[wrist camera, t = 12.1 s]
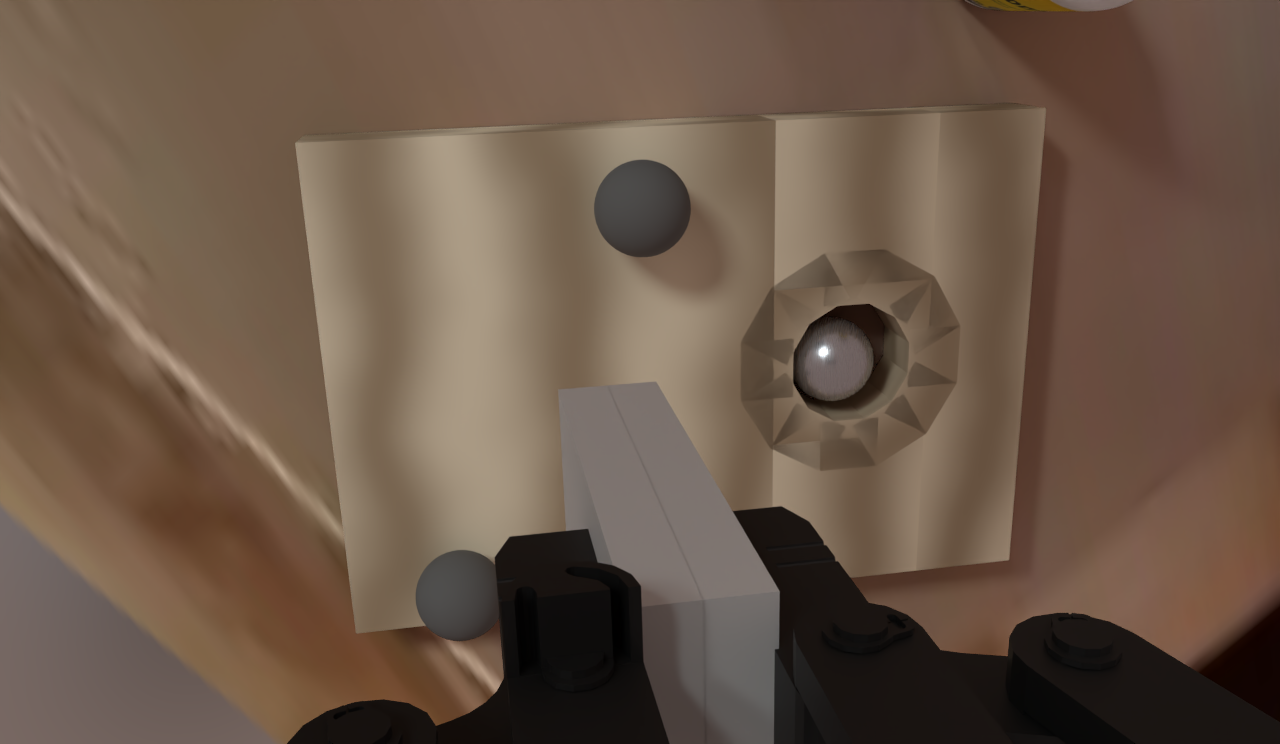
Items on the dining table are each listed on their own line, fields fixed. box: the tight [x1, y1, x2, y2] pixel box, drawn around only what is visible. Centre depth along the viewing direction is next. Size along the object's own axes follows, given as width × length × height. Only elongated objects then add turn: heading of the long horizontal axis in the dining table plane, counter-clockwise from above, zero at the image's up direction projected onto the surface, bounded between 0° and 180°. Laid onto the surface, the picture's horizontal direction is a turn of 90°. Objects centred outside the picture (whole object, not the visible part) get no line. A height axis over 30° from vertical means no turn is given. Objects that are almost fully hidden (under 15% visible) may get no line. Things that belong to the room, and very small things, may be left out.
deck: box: [295, 103, 1046, 633], centre depth 41 cm, size 26×18×2 cm
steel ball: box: [793, 317, 874, 401], centre depth 42 cm, size 3×3×3 cm
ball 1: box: [415, 550, 499, 641], centre depth 40 cm, size 3×3×3 cm
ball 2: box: [594, 160, 691, 257], centre depth 36 cm, size 3×3×3 cm
